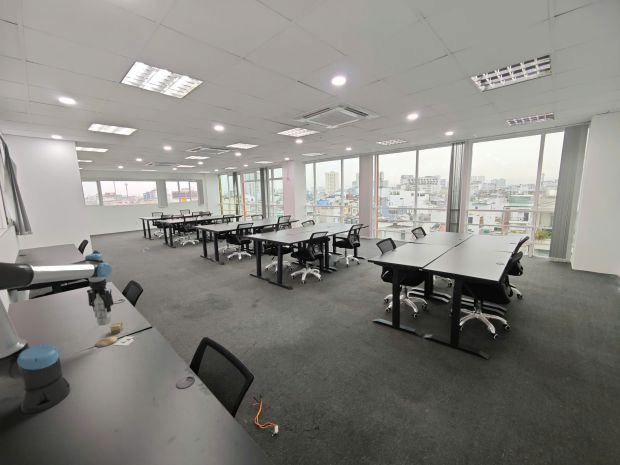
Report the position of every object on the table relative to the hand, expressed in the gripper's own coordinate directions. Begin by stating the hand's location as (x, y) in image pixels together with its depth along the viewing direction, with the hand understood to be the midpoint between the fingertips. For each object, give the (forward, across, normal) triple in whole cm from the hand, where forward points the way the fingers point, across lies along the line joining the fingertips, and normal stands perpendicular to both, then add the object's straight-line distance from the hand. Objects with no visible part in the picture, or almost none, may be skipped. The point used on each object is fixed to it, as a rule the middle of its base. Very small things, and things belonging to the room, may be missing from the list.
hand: (103, 316), depth 152 cm
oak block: (+17, +4, -12) cm, 21 cm away
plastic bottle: (+5, 0, 0) cm, 5 cm away
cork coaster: (+17, 0, 0) cm, 17 cm away
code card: (+17, -11, -2) cm, 20 cm away
